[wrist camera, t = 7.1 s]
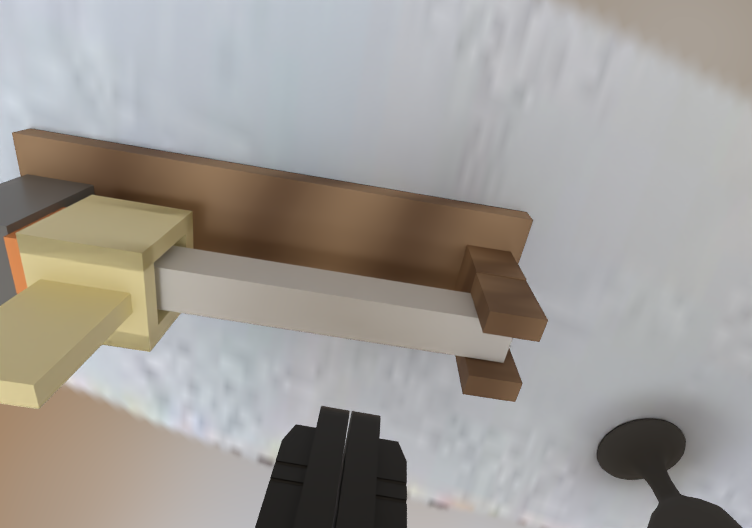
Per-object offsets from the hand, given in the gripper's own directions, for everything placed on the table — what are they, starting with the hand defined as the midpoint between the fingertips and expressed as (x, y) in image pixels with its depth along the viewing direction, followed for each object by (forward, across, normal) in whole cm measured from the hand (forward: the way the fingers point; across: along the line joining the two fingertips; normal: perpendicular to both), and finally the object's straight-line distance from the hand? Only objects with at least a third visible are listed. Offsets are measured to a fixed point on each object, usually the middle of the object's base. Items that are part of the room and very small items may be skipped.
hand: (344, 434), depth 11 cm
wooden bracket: (+11, +4, 0) cm, 12 cm away
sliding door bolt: (+10, +5, 0) cm, 11 cm away
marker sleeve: (+8, +9, 0) cm, 13 cm away
